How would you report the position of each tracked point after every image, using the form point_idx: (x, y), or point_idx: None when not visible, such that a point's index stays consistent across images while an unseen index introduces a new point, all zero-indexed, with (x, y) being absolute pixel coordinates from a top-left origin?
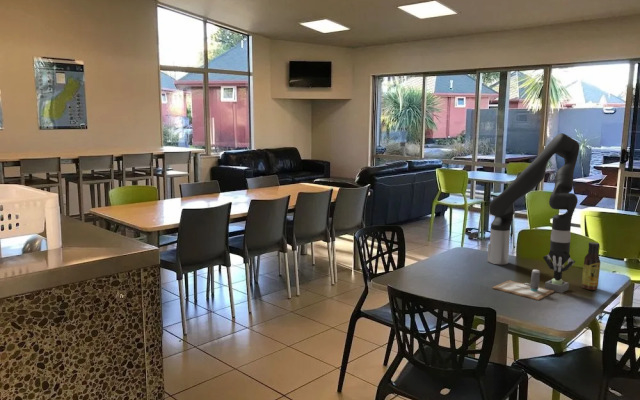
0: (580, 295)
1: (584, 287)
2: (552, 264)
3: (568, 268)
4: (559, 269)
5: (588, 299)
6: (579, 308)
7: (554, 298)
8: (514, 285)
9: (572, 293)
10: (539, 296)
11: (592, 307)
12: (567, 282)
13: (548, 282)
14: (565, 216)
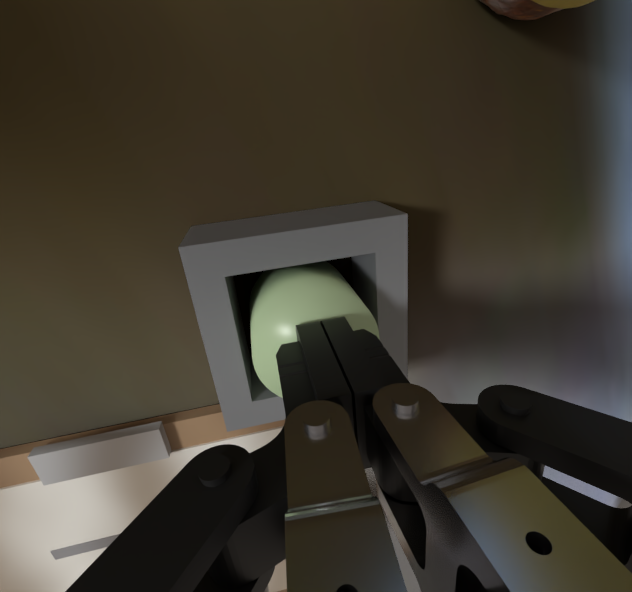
0: (512, 270)
1: (506, 11)
2: (200, 558)
3: (596, 435)
4: (421, 513)
5: (579, 307)
6: (561, 483)
7: None
8: (40, 558)
9: (447, 279)
10: None
11: (618, 417)
12: (392, 221)
13: (250, 406)
14: None
